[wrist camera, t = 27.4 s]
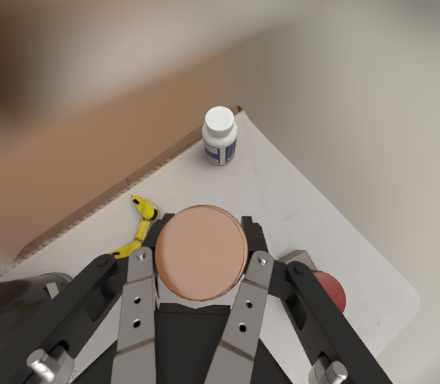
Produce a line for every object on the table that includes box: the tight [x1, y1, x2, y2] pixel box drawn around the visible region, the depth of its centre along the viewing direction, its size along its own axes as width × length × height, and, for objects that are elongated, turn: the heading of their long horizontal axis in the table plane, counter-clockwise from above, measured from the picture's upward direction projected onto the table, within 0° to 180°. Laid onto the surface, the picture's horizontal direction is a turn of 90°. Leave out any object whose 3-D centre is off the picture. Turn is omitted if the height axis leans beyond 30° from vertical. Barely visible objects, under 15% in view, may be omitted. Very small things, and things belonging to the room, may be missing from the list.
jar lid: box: [312, 270, 346, 313], centre depth 24 cm, size 6×6×2 cm
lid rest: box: [279, 250, 317, 271], centre depth 26 cm, size 4×10×3 cm, turn 25°
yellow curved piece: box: [109, 196, 159, 258], centre depth 29 cm, size 10×6×4 cm, turn 166°
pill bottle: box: [202, 106, 237, 165], centre depth 29 cm, size 5×5×10 cm
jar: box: [155, 205, 248, 302], centre depth 13 cm, size 5×5×10 cm
